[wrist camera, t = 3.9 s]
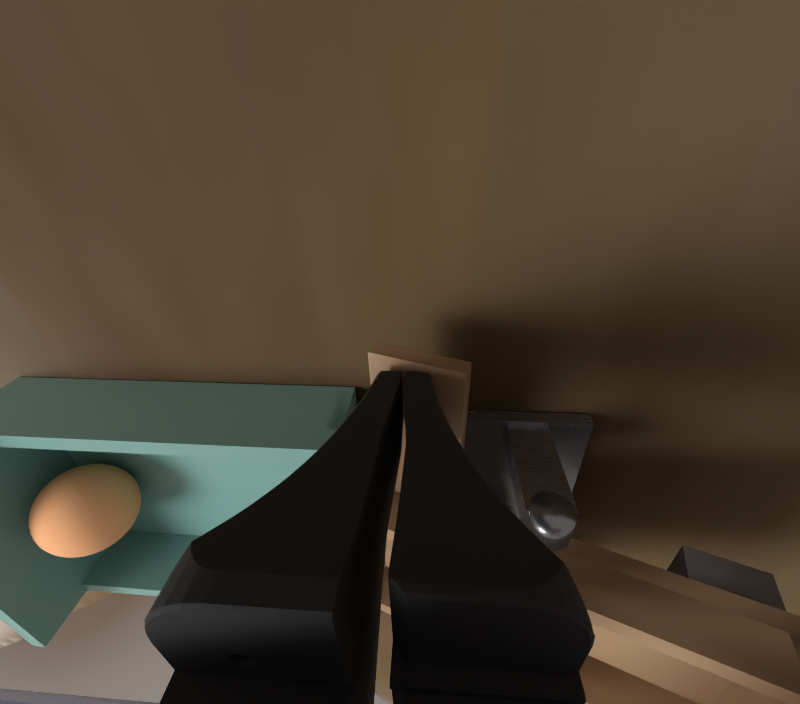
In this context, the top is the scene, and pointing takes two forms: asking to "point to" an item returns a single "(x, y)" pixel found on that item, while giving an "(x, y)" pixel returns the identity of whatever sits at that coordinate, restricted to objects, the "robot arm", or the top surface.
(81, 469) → the ball
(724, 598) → the chute
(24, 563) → the tray
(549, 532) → the launcher stand
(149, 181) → the top surface
